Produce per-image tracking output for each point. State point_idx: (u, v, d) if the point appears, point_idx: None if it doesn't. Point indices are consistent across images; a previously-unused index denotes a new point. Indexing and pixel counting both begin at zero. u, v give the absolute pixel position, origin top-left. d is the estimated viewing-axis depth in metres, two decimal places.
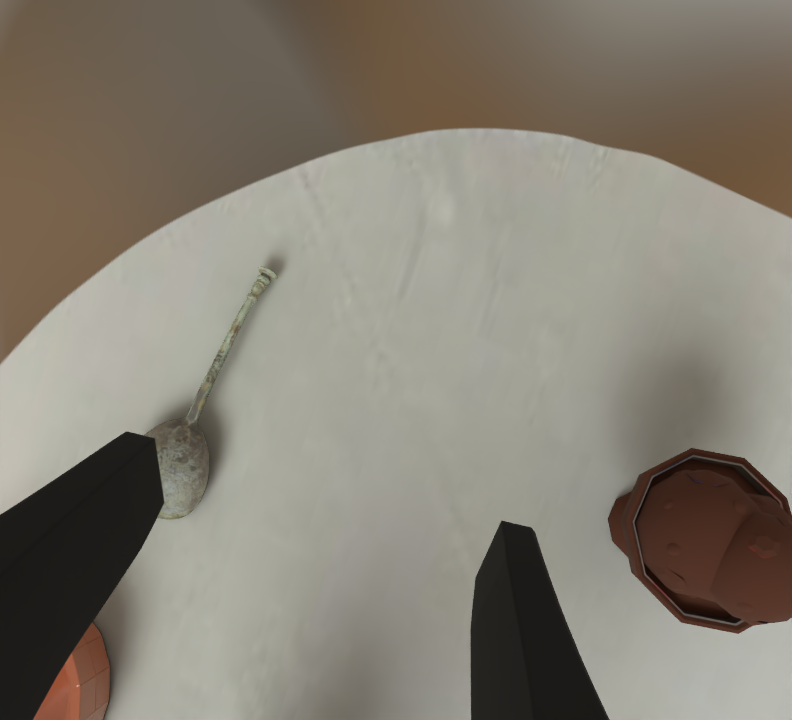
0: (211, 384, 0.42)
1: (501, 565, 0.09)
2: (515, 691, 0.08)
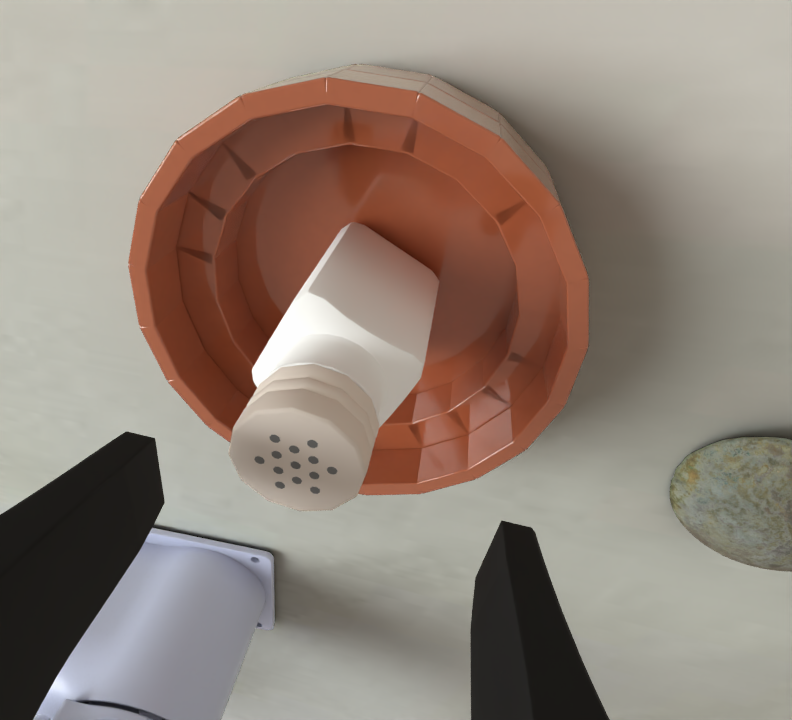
0: None
1: (501, 565, 0.09)
2: (515, 691, 0.08)
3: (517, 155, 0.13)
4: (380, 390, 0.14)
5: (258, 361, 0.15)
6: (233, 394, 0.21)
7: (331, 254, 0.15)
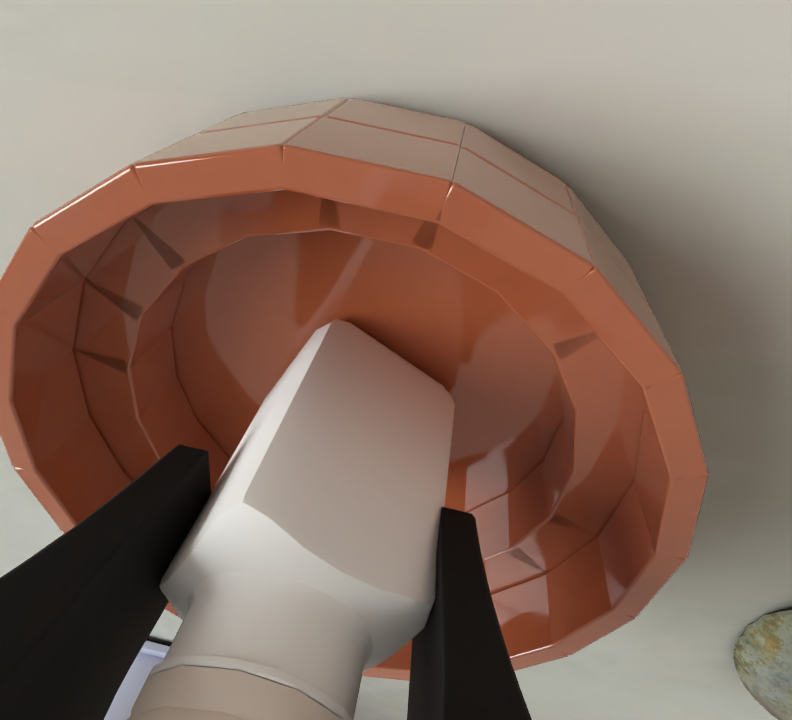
0: None
1: (437, 550, 0.09)
2: (436, 672, 0.08)
3: (619, 295, 0.07)
4: (359, 666, 0.08)
5: (166, 581, 0.09)
6: None
7: (293, 398, 0.10)
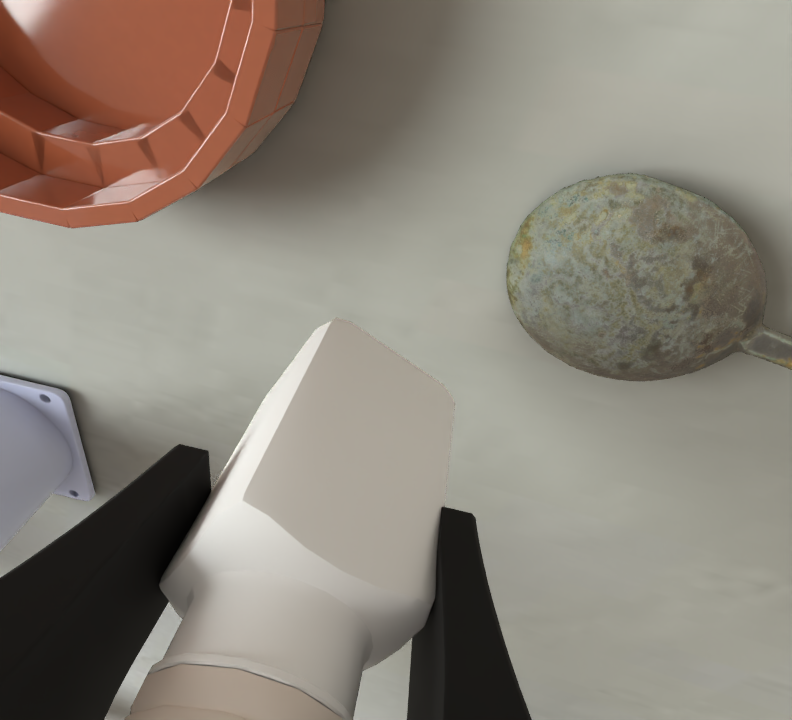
0: None
1: (437, 550, 0.09)
2: (436, 672, 0.08)
3: None
4: (359, 665, 0.08)
5: (166, 580, 0.09)
6: None
7: (293, 397, 0.10)
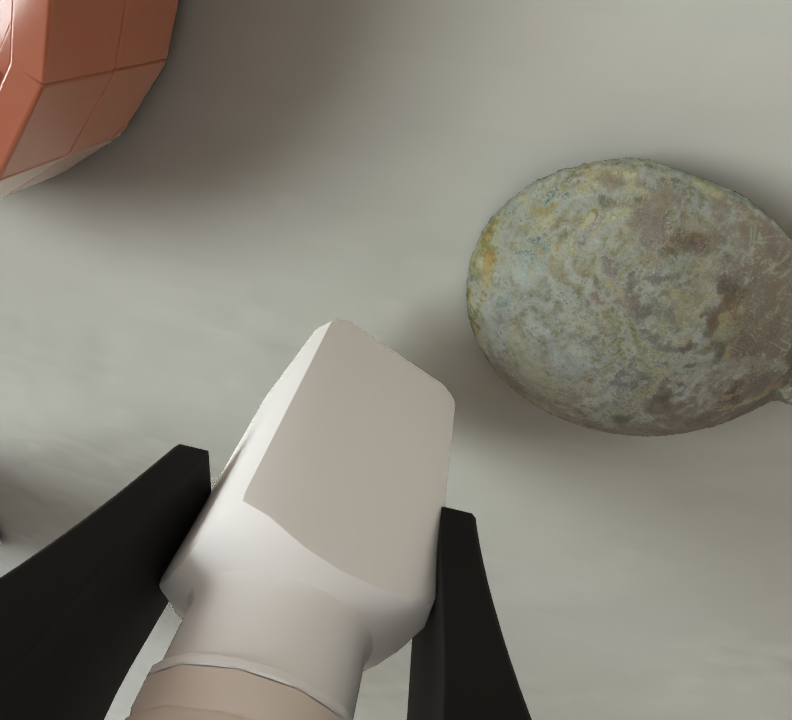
0: None
1: (437, 550, 0.09)
2: (436, 672, 0.08)
3: None
4: (359, 665, 0.08)
5: (166, 580, 0.09)
6: None
7: (293, 397, 0.10)
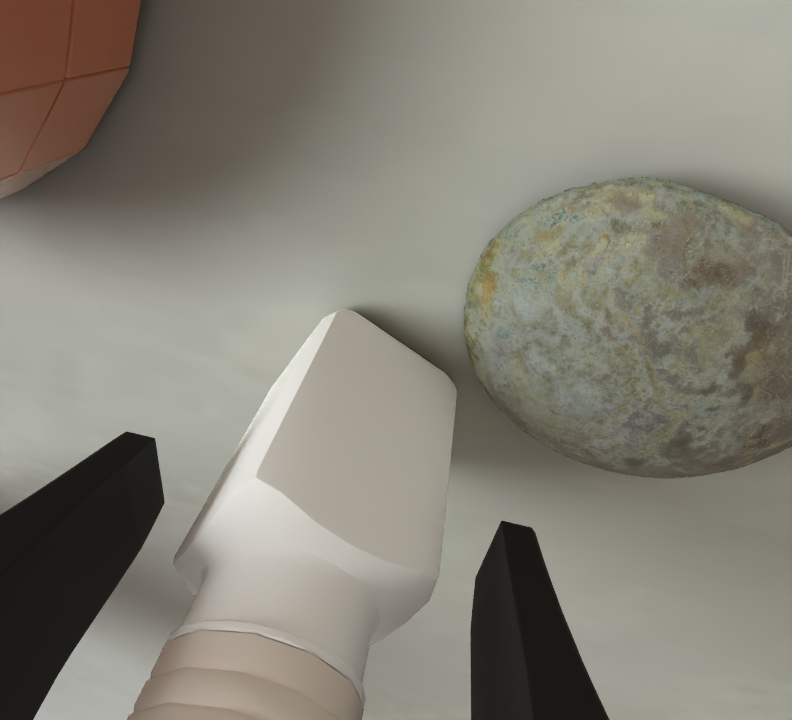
0: None
1: (501, 565, 0.09)
2: (515, 691, 0.08)
3: None
4: (367, 635, 0.08)
5: (181, 557, 0.09)
6: None
7: (302, 382, 0.10)
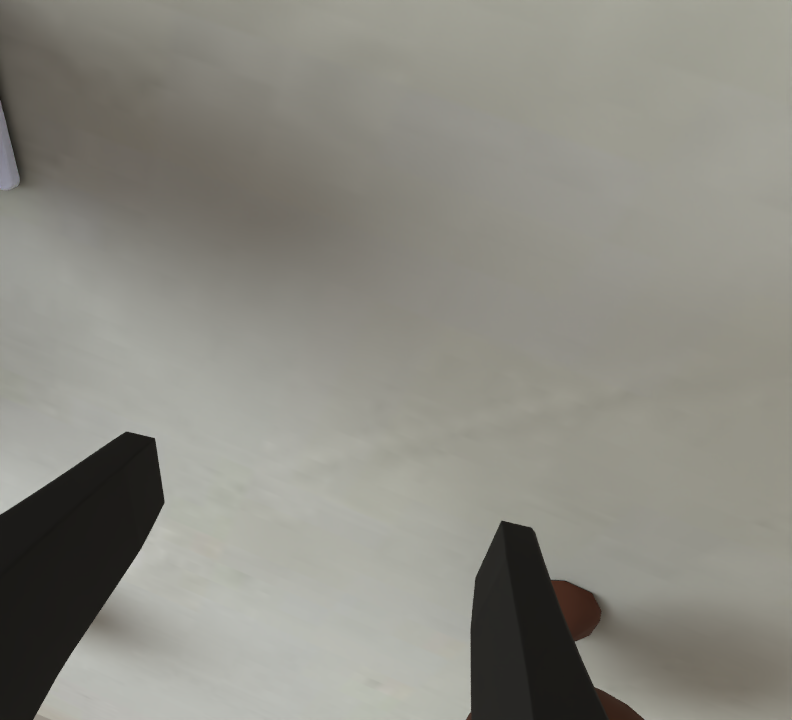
0: None
1: (501, 565, 0.09)
2: (515, 691, 0.08)
3: None
4: None
5: None
6: None
7: None
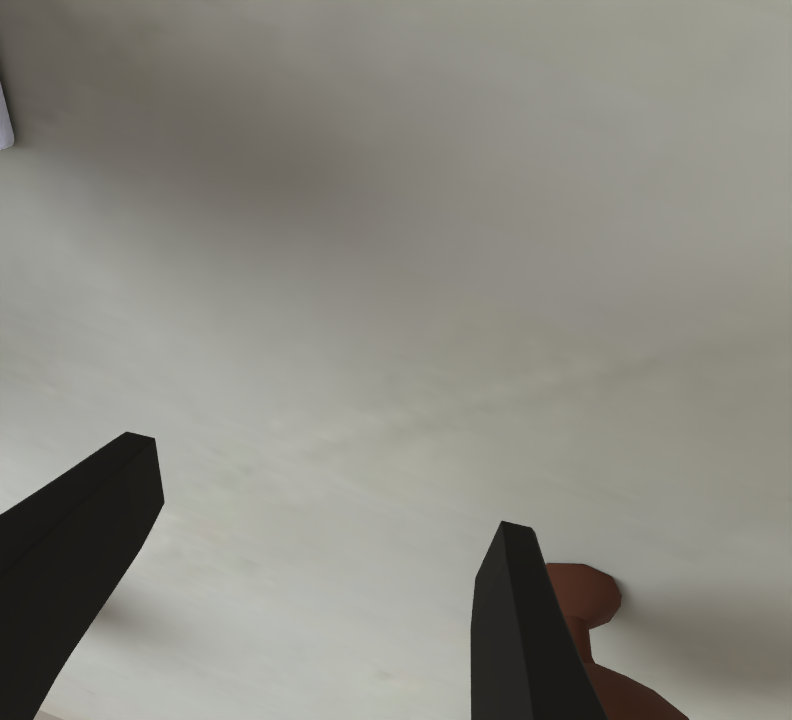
0: None
1: (501, 565, 0.09)
2: (515, 691, 0.08)
3: None
4: None
5: None
6: None
7: None
